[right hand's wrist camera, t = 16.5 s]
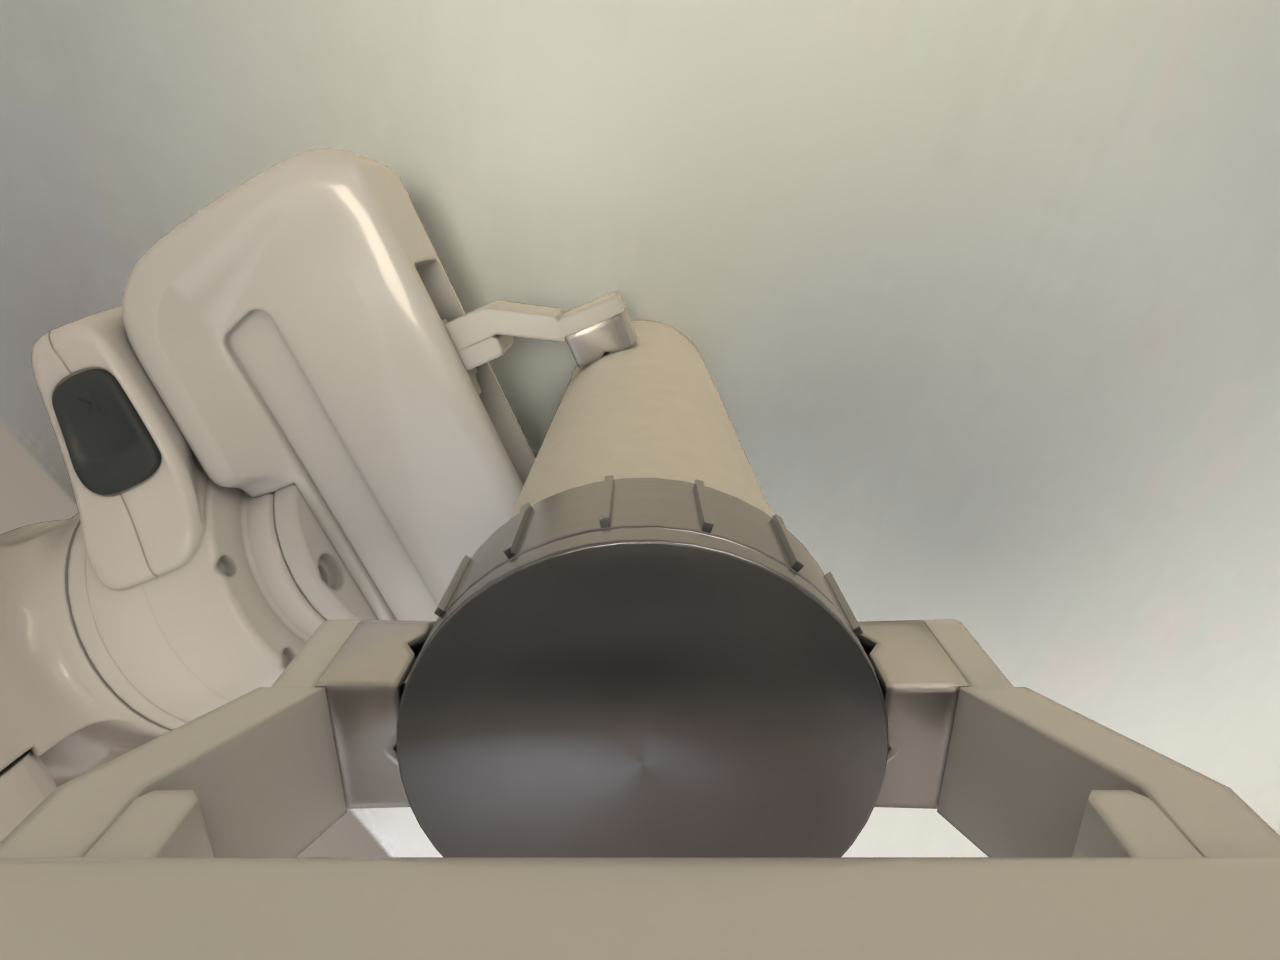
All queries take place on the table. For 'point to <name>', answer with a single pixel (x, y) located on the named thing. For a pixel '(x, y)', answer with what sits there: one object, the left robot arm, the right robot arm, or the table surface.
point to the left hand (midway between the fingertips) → (668, 414)
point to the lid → (642, 688)
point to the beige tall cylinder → (643, 424)
